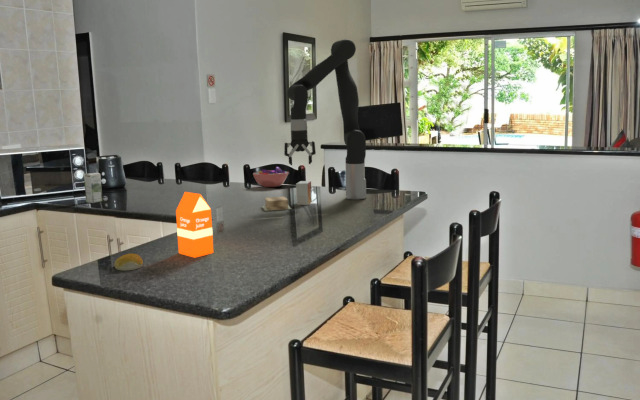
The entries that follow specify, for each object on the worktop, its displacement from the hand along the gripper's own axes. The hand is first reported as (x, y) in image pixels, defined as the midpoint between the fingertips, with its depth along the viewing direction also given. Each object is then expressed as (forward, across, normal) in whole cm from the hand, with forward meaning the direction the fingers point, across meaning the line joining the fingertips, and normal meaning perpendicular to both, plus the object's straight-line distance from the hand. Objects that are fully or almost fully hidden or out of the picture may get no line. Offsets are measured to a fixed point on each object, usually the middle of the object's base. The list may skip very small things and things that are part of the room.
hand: (300, 164), depth 270 cm
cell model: (+19, +12, -58) cm, 62 cm away
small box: (+19, -1, +1) cm, 19 cm away
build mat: (+18, +12, +9) cm, 24 cm away
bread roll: (+18, +62, +90) cm, 111 cm away
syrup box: (+18, +101, -32) cm, 107 cm away
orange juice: (+18, +43, +79) cm, 91 cm away
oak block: (+18, +12, +9) cm, 23 cm away
